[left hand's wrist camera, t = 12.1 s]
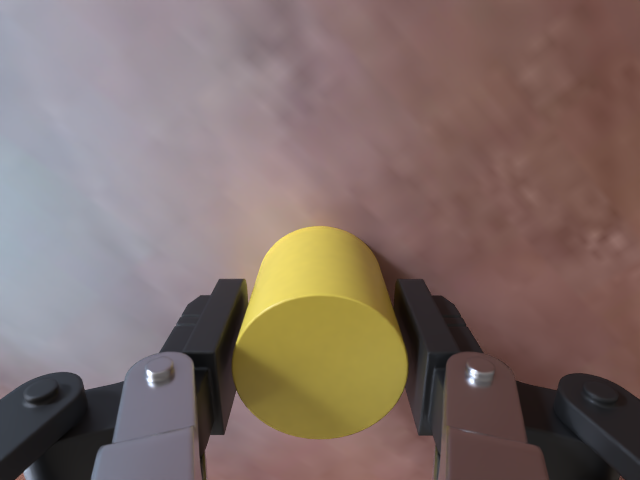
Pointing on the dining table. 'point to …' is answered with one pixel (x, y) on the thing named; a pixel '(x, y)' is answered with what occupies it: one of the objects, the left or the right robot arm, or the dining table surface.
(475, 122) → the dining table surface
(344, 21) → the dining table surface
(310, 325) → the cylinder
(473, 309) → the dining table surface
